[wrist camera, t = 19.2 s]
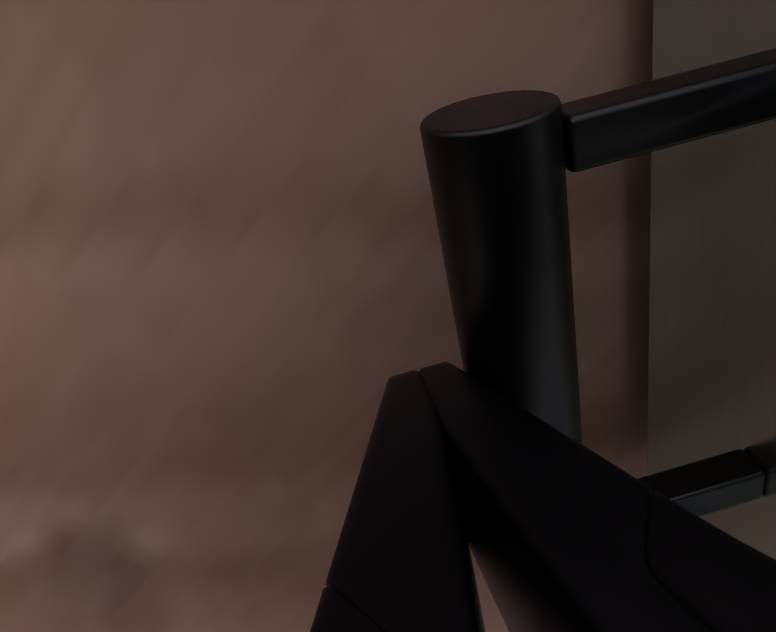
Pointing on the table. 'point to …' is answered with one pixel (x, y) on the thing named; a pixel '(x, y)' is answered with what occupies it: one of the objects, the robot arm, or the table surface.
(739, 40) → the drawer
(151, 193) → the table surface
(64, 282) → the table surface
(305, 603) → the table surface
